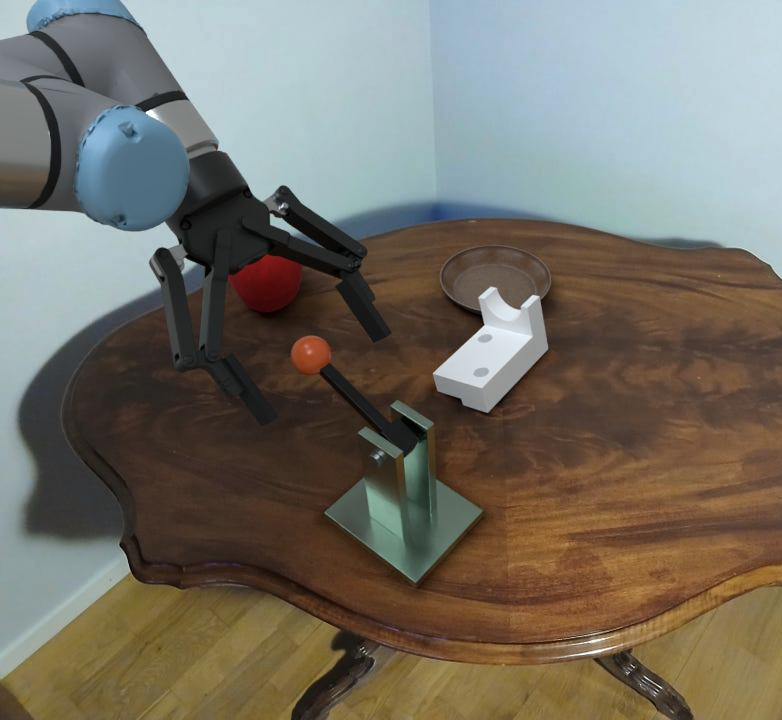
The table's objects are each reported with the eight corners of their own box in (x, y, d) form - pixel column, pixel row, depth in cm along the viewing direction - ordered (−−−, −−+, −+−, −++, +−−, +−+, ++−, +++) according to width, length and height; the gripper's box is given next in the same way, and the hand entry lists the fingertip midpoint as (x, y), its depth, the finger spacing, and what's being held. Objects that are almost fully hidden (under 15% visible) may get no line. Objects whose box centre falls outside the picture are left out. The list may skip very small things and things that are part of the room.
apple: (301, 329, 92) (287, 259, 84) (225, 326, 92) (204, 256, 84) (315, 280, 99) (304, 212, 92) (245, 278, 99) (227, 210, 92)
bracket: (501, 337, 93) (490, 286, 89) (548, 348, 89) (539, 296, 85) (439, 397, 85) (424, 345, 81) (487, 412, 81) (474, 358, 77)
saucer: (462, 249, 105) (462, 234, 103) (561, 272, 102) (563, 256, 100) (422, 312, 95) (422, 295, 93) (531, 339, 92) (532, 323, 90)
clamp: (325, 519, 72) (304, 428, 62) (394, 457, 78) (385, 365, 68) (416, 589, 67) (409, 502, 57) (483, 517, 73) (486, 426, 63)
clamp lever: (280, 362, 66) (284, 342, 63) (309, 341, 68) (315, 321, 65) (390, 472, 64) (399, 456, 61) (417, 447, 66) (427, 431, 63)
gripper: (283, 137, 71) (404, 317, 75) (37, 251, 57) (201, 466, 61) (313, 100, 65) (442, 298, 69) (46, 218, 51) (228, 459, 55)
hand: (330, 377), depth 65 cm, fingers open, 13 cm apart
